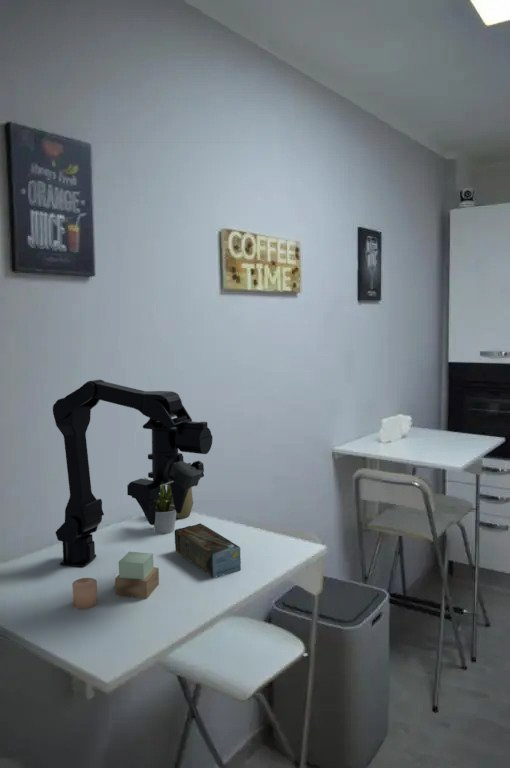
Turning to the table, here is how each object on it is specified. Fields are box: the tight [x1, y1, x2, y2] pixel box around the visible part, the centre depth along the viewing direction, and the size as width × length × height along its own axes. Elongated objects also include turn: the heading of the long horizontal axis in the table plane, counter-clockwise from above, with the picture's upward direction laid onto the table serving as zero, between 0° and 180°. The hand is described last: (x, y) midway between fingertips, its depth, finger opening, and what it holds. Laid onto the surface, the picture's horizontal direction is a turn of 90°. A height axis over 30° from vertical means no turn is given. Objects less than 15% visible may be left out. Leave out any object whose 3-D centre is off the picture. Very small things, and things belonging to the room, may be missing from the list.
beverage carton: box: [174, 523, 242, 578], centre depth 147 cm, size 8×19×7 cm, turn 34°
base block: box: [114, 566, 160, 600], centre depth 132 cm, size 7×7×4 cm
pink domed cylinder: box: [71, 577, 98, 610], centre depth 126 cm, size 5×5×4 cm
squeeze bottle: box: [166, 484, 194, 519], centre depth 180 cm, size 8×8×18 cm
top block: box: [118, 551, 154, 580], centre depth 131 cm, size 6×6×4 cm
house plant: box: [142, 477, 177, 535], centre depth 168 cm, size 14×14×16 cm
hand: (165, 518), depth 137 cm, fingers open, 9 cm apart
